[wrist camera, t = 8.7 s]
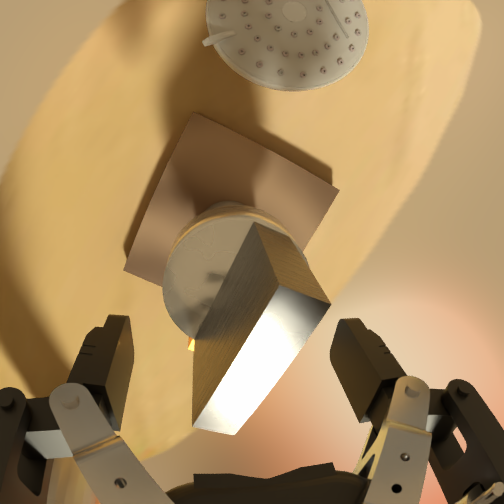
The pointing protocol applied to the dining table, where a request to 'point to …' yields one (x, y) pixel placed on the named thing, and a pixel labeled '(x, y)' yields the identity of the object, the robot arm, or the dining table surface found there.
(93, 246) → the dining table surface
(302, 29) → the showerhead
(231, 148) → the post base
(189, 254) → the knob
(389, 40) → the dining table surface
